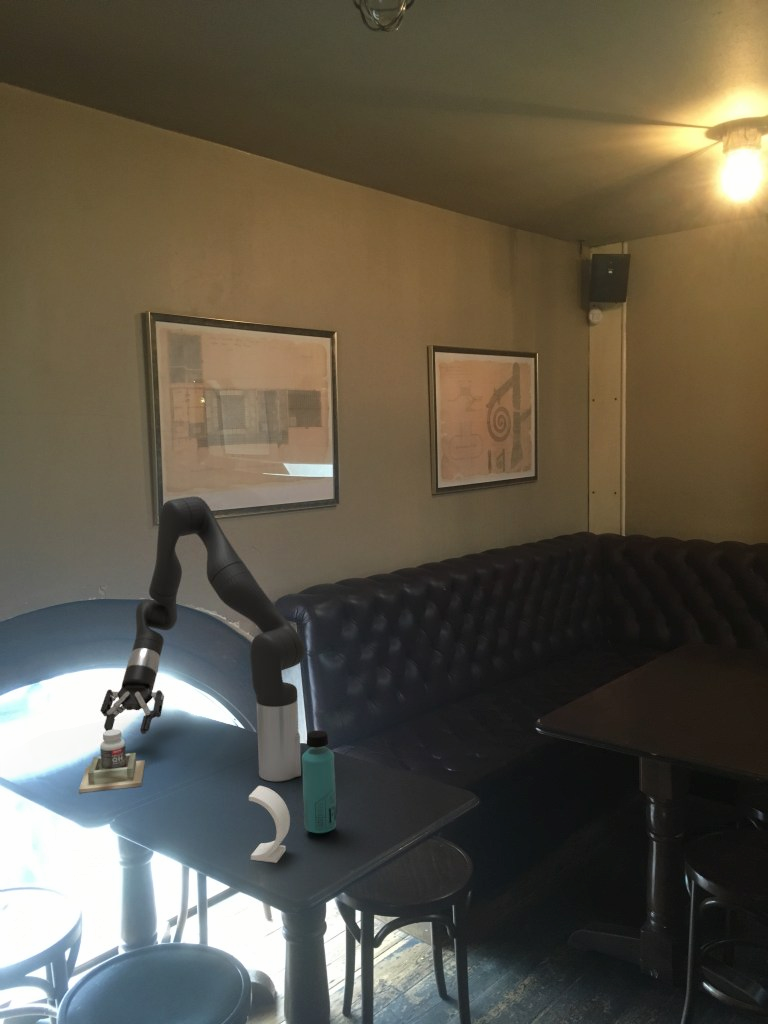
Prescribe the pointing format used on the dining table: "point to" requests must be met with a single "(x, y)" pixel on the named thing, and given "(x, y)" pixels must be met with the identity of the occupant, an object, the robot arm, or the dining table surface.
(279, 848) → the headphone stand
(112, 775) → the holder
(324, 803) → the beverage bottle
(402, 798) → the dining table surface
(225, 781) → the dining table surface
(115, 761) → the pill bottle
